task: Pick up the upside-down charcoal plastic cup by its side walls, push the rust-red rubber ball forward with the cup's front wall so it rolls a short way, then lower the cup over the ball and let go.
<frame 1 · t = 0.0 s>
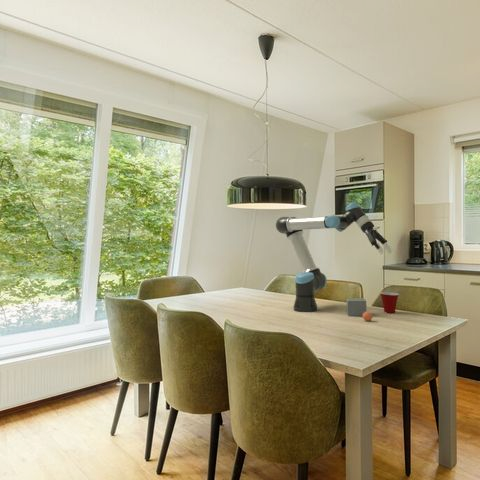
hand: (387, 252, 218), 36 cm above the table, tool tilted 35°, fingers open, 13 cm apart
trap cup: (356, 314, 220), on the table
plastic cup: (390, 312, 223), on the table
ball: (367, 316, 202), on the table
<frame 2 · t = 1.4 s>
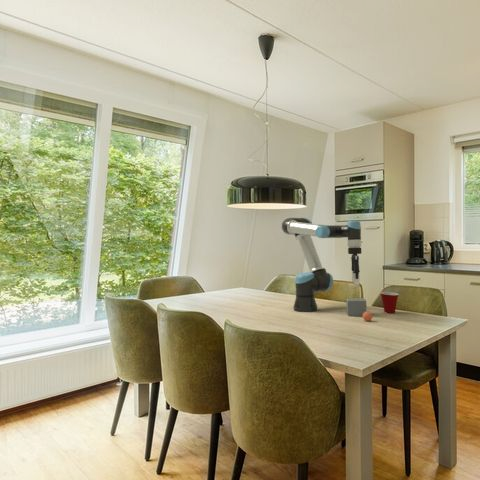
hand: (355, 283, 220), 18 cm above the table, tool pointing down, fingers open, 13 cm apart
nothing on the table moved.
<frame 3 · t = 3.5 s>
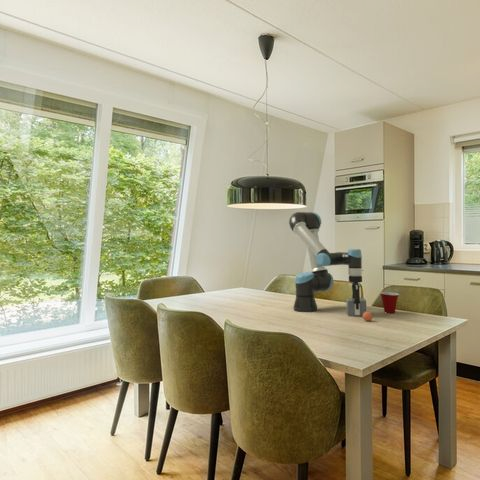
hand: (356, 313, 220), 1 cm above the table, tool pointing down, fingers closed on trap cup, 10 cm apart
trap cup: (356, 314, 220), on the table, touching gripper
everything else where it was.
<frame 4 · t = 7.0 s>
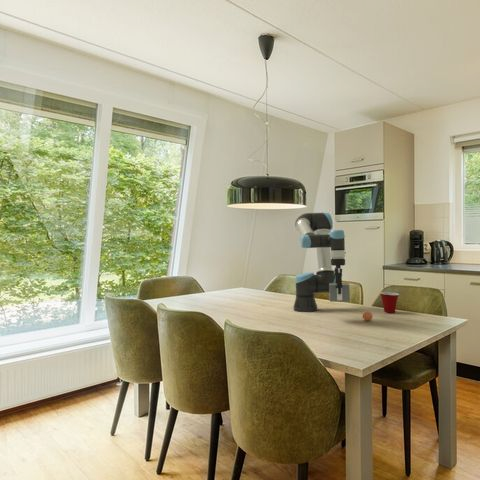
hand: (339, 298, 205), 12 cm above the table, tool pointing down, fingers closed on trap cup, 10 cm apart
trap cup: (339, 300, 205), point 11 cm above the table, touching gripper
everything else where it was.
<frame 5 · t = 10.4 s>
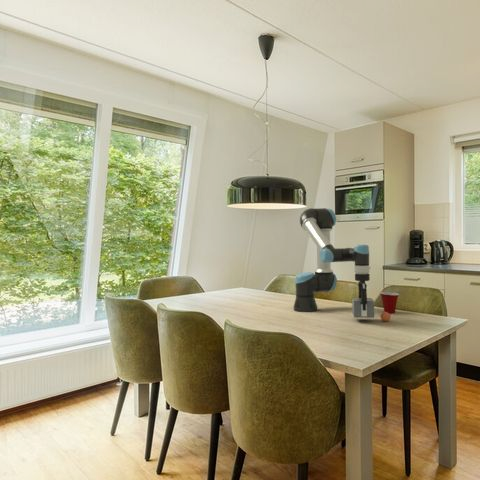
hand: (362, 314, 203), 4 cm above the table, tool pointing down, fingers closed on trap cup, 10 cm apart
trap cup: (363, 315, 203), point 3 cm above the table, touching gripper
ball: (385, 316, 200), on the table
everything else where it was.
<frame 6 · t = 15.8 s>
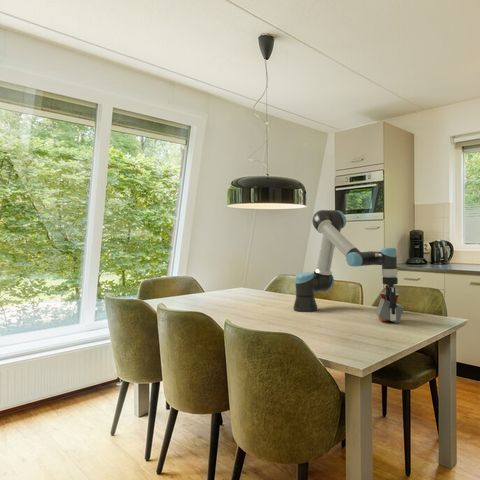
hand: (391, 318, 199), 2 cm above the table, tool pointing down, fingers closed on trap cup, 10 cm apart
trap cup: (386, 318, 200), point 2 cm above the table, tilted 20°, touching ball, gripper
ball: (383, 316, 200), on the table, touching trap cup
everything else where it was.
when the fingers open (2 cm above the table, at t = 16.2 s): trap cup drops 2 cm, on the table.
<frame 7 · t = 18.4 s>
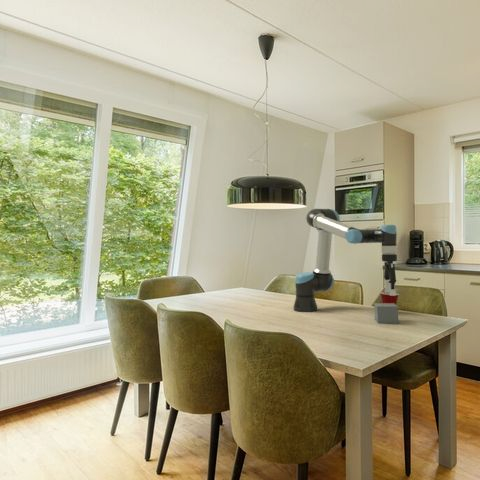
hand: (390, 293, 200), 15 cm above the table, tool pointing down, fingers open, 13 cm apart
trap cup: (386, 321, 200), on the table
ball: (383, 316, 200), on the table
everything else where it was.
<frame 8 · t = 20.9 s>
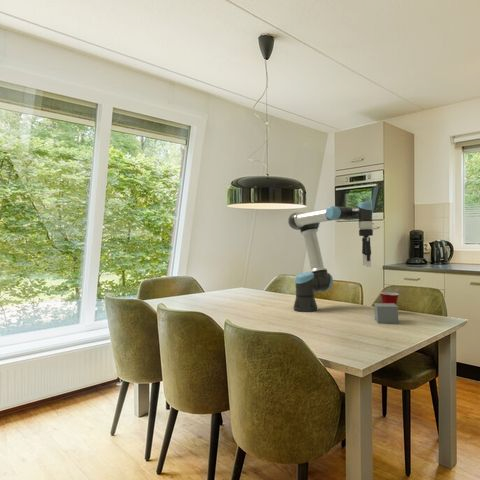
hand: (366, 266, 214), 29 cm above the table, tool pointing down, fingers open, 13 cm apart
nothing on the table moved.
at the end: ball 1.5 cm from the trap cup (horizontally); trap cup on the table; ball moved 8.0 cm from its start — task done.
